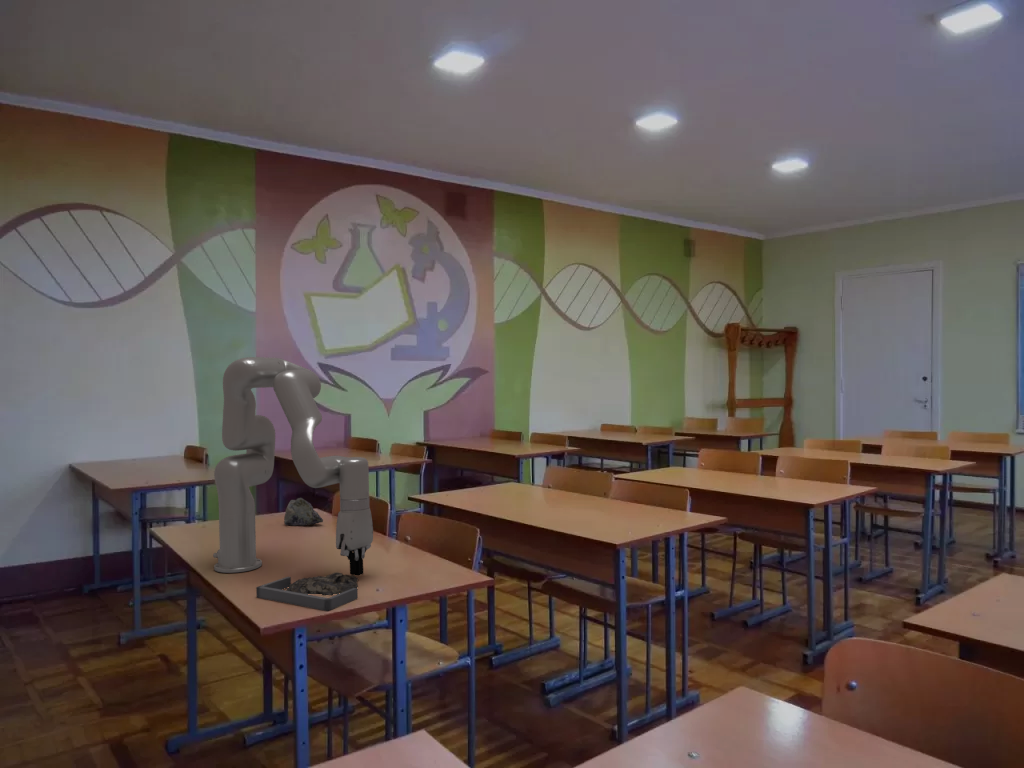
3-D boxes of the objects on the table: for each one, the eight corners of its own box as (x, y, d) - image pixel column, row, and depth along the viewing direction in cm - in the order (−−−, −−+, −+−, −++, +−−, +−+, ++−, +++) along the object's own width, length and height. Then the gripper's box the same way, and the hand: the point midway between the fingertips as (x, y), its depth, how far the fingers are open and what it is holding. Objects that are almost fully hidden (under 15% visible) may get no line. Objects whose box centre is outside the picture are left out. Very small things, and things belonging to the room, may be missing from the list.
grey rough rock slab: (373, 591, 182) (350, 577, 194) (373, 575, 182) (350, 563, 194) (298, 606, 171) (279, 591, 184) (298, 590, 171) (279, 575, 184)
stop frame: (256, 597, 176) (256, 587, 176) (288, 586, 185) (287, 576, 185) (327, 611, 165) (327, 600, 165) (357, 598, 174) (357, 588, 174)
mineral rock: (324, 526, 258) (324, 498, 258) (295, 531, 251) (295, 502, 251) (309, 521, 268) (309, 494, 268) (281, 525, 261) (280, 497, 261)
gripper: (362, 499, 198) (364, 566, 199) (324, 508, 185) (325, 580, 186) (384, 501, 195) (385, 569, 195) (346, 510, 182) (348, 583, 182)
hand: (356, 574), depth 190 cm, fingers closed
